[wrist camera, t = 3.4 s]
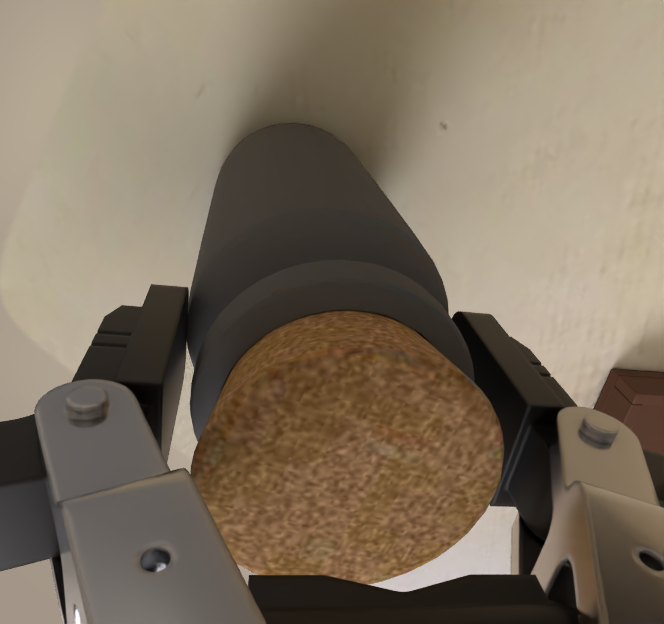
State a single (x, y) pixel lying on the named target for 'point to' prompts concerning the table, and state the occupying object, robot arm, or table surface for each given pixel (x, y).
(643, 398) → the tray
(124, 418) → the robot arm
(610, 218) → the table surface
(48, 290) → the table surface
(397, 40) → the table surface
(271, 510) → the bottle
